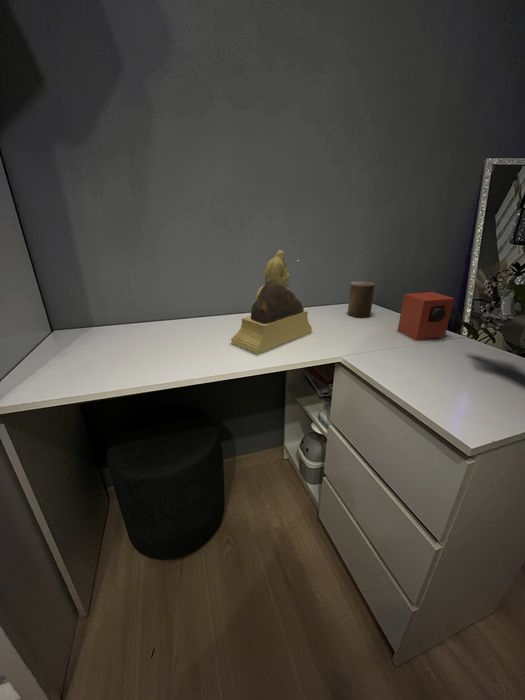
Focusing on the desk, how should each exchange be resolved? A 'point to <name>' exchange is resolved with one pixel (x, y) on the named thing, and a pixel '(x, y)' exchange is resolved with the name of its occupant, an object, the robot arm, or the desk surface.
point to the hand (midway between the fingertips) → (472, 314)
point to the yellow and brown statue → (273, 313)
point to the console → (424, 315)
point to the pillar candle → (361, 299)
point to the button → (437, 314)
